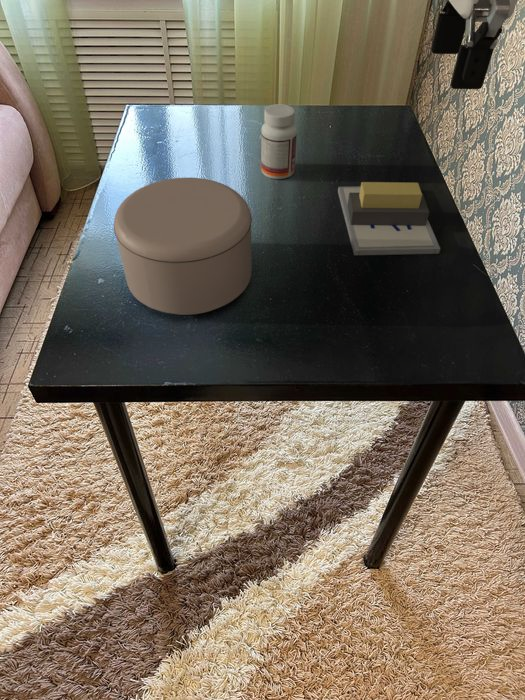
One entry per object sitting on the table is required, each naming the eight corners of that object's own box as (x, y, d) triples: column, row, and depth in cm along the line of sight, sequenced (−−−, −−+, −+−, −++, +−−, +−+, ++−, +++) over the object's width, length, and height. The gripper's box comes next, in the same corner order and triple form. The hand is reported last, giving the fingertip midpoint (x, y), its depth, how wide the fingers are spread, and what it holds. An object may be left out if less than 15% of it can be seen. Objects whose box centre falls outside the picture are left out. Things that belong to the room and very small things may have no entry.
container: (269, 305, 74) (271, 235, 66) (140, 335, 70) (123, 265, 62) (231, 232, 86) (228, 164, 77) (118, 254, 82) (102, 185, 73)
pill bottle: (279, 159, 101) (281, 99, 93) (301, 173, 98) (305, 111, 90) (254, 170, 99) (254, 108, 90) (275, 184, 96) (277, 121, 87)
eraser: (419, 206, 89) (426, 179, 86) (425, 225, 86) (433, 198, 82) (347, 205, 89) (351, 178, 86) (350, 224, 86) (355, 197, 82)
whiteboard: (438, 253, 83) (440, 248, 82) (353, 255, 82) (354, 250, 81) (411, 190, 95) (413, 185, 94) (337, 191, 94) (338, 186, 93)
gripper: (593, -126, 40) (512, 104, 53) (520, -152, 52) (468, 42, 65) (493, -128, 40) (436, 103, 53) (443, -153, 52) (406, 41, 65)
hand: (454, 69), depth 59 cm, fingers open, 9 cm apart
